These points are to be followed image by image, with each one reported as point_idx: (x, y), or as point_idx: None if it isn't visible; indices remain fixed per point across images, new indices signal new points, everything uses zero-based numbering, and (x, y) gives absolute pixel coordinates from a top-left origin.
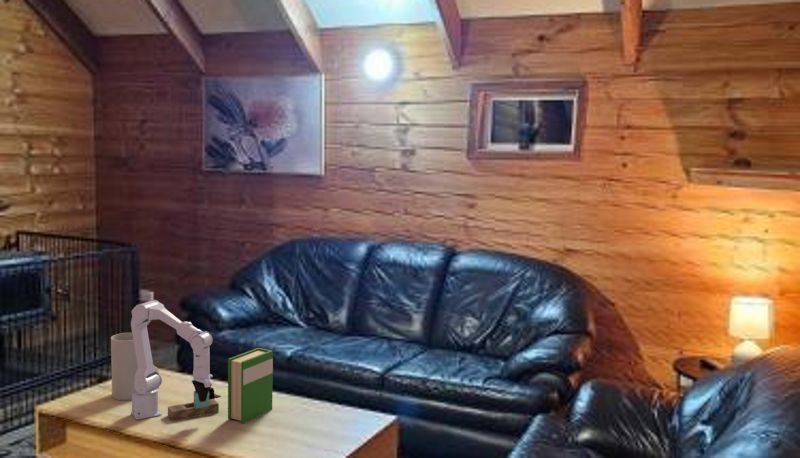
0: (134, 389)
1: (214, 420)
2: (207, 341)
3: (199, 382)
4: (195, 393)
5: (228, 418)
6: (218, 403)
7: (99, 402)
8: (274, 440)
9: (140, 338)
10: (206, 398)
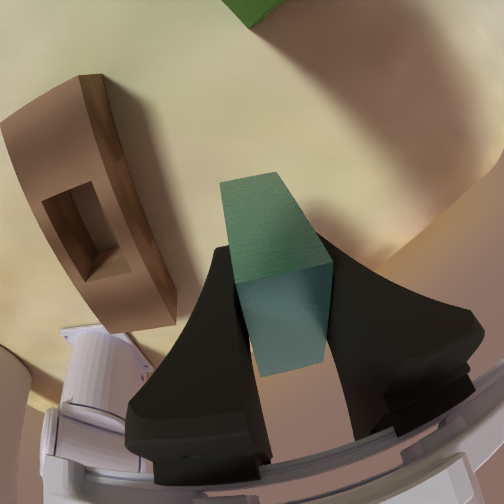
0: (9, 380)
1: (230, 102)
2: None
3: (264, 438)
4: (316, 360)
5: (254, 24)
6: (76, 76)
7: (52, 396)
8: (497, 6)
9: None
10: (322, 237)
